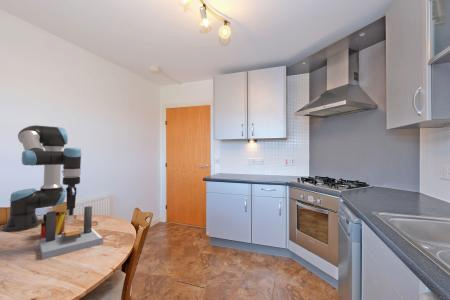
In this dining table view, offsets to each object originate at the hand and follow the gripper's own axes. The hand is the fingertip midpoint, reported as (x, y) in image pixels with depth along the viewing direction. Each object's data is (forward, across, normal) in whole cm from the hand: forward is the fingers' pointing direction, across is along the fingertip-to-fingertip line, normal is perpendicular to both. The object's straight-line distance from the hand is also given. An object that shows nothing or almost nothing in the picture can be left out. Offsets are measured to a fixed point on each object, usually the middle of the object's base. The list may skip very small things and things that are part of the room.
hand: (70, 220), depth 112 cm
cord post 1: (+8, 0, -8) cm, 11 cm away
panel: (+11, +5, 0) cm, 12 cm away
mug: (+11, -15, -5) cm, 19 cm away
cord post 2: (+8, 0, +8) cm, 11 cm away
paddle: (+5, +5, 0) cm, 7 cm away
